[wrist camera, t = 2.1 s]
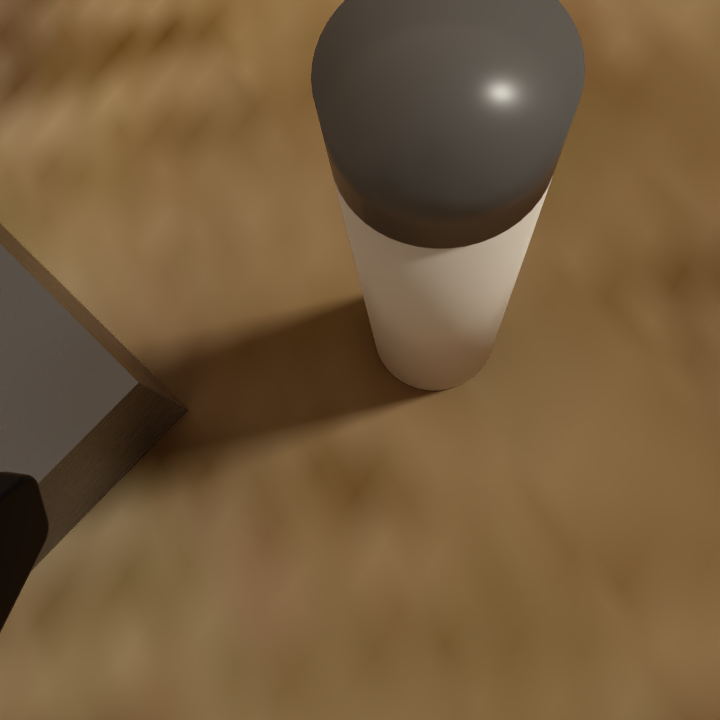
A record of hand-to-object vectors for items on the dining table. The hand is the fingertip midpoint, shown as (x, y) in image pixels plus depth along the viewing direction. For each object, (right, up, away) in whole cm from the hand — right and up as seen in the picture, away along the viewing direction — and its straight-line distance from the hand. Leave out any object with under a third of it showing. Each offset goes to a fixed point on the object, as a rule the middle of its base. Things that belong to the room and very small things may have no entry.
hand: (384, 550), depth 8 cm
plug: (+2, +3, +14) cm, 15 cm away
